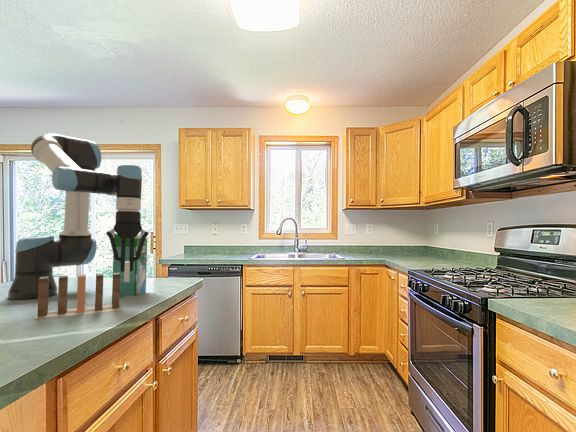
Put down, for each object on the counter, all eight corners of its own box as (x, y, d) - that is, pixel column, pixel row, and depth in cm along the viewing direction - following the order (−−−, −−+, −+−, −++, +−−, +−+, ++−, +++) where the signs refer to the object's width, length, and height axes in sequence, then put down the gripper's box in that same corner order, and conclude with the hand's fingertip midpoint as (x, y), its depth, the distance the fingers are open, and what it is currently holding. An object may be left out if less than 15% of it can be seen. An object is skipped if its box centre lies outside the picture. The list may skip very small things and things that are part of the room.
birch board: (38, 315, 99) (39, 311, 99) (119, 306, 110) (119, 303, 110) (34, 322, 91) (34, 319, 91) (121, 313, 102) (121, 309, 102)
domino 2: (58, 311, 100) (60, 275, 100) (66, 310, 101) (67, 275, 101) (57, 315, 96) (58, 277, 96) (65, 314, 97) (66, 277, 97)
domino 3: (95, 307, 105) (96, 273, 105) (102, 307, 106) (103, 273, 106) (95, 311, 101) (96, 275, 101) (102, 310, 102) (103, 275, 102)
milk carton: (135, 298, 123) (136, 233, 124) (111, 297, 123) (113, 232, 124) (145, 293, 132) (147, 232, 133) (124, 293, 132) (125, 232, 133)
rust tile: (77, 309, 102) (78, 274, 102) (84, 308, 103) (85, 274, 103) (76, 312, 98) (77, 276, 99) (84, 312, 99) (85, 276, 100)
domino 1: (39, 313, 97) (40, 277, 98) (47, 312, 98) (49, 276, 99) (37, 317, 93) (38, 279, 94) (45, 316, 94) (47, 278, 95)
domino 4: (111, 306, 107) (112, 272, 107) (118, 305, 108) (119, 272, 108) (112, 309, 103) (113, 274, 104) (119, 308, 104) (120, 274, 105)
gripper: (106, 209, 102) (104, 284, 101) (151, 211, 108) (149, 281, 108) (105, 210, 108) (103, 281, 107) (147, 212, 115) (145, 278, 114)
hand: (126, 281), depth 108 cm, fingers closed
